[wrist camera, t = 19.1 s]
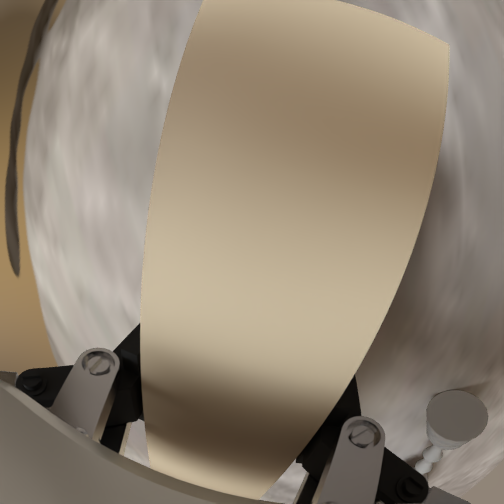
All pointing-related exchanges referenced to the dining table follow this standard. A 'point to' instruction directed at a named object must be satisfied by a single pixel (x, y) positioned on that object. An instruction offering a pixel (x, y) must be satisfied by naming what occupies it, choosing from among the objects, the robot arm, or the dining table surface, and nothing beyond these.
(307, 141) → the grooved wooden block
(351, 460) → the robot arm
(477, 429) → the chalice
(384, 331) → the dining table surface
